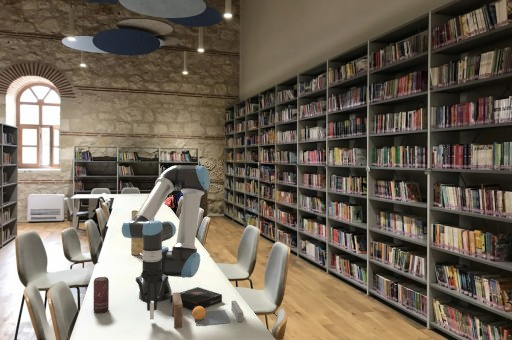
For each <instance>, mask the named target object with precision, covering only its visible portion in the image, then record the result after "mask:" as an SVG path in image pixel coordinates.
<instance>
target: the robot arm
mask: <svg viewBox="0 0 512 340" xmlns="http://www.w3.org/2000/svg"><path fill="white" fill-rule="evenodd" d="M210 177H211V176H210V172H209V170H208V169H207V167H205V166H204V165H181V164H178V165H172V166H170V167H168V168H166V170H164V171H163V172H161V174H159V175H158V177H157V178H156V180H155V182H154V187H153V188H152V190H151V191H150V193H149V195H148V196H147V197H146V199H145V200H144V202H143V203H142V205H141V207H140V208H139V209H138V210H137V211H138V213H137V214H136V216H135V217H134V219H133V220H132V221H131V219H130V220H129V219H128V220H125V221H124V222H123V223H122V225H121V233H122V236H123V237H124V238H127V239H131V238H132V239H143V254H142V271H141V274H140V275H139V276H136V277H135V282H136V283H137V285H138V288H139V293H138V298H139V299H140V300H142V302H143V303H146V311H147V312H148V311H149V320H154V319H155V316H154V314H155V311H157V310H158V304H157V303H158V302H161V301H164V300H168V299H170V298H171V295H172V293H173V291H172V287H171V285H170V282H169V277H175V278H176V277H177V278H183V279H184V278H189V279H190V278H193V277H194V276H195V275H196V274H197V272H198V271H199V267H200V264H201V255H200V253H199V252H198V248H197V247H196V246H195V243H196V235H197V228H198V222H199V212H200V206H201V205H200V204H201V199H202V196H204V195H205V193H206V192H205V191H207V190H209V188H210V186H211V178H210ZM176 189H180V192H181V193H182V202H181V209H180V214H179V221H178V229H177V228H176V225H175V224H174V223H173V222H172V221H169V220H166V221H160V220H155V217H156V215H157V214H158V212H159V211H160V209H161V207H162V205H163V204H164V202H165V201H166V199H167V197H168V195H169V194H171V193H172V192H174V190H176ZM153 219H154V221H152V220H153ZM176 232H177V234H176ZM175 235H177V237H176V242H175V244H174V245H173V246H172V248H171V250H169V247H168V246H163V242H164V241H168V240H171V239H172V238H173V237H174V236H175Z"/></svg>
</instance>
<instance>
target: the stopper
mask: <svg viewBox="0 0 512 340" xmlns="http://www.w3.org/2000/svg"><path fill="white" fill-rule="evenodd" d="M231 311H232V314H233V316H234V317H235V319H236V321H237V323H243V322H244V312H243V310H242V308H241V306H240V305H239V303H238V301H237V300H231Z"/></svg>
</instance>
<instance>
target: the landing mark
mask: <svg viewBox="0 0 512 340" xmlns="http://www.w3.org/2000/svg"><path fill="white" fill-rule="evenodd" d="M205 311H206V310H205ZM193 319H194V318H193ZM193 321H194V324H195V323H196V324H195V327H200V325H202V326H209V325H210V326H212V325H223V324H231V320H230V317H229V316H228V314H227V312H226V309H221V310H210V311H209V310H207V311H206V315H205V317H204V318H203V319H202V320H196V319H194V320H193ZM198 325H199V326H198Z"/></svg>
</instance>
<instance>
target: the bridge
mask: <svg viewBox="0 0 512 340" xmlns="http://www.w3.org/2000/svg"><path fill="white" fill-rule="evenodd" d="M171 305H172V306H171V307H172V309H171V315H172V317H173V328H174V329H180V328H183V307H182V300H181V296H180V292H172V303H171Z"/></svg>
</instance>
